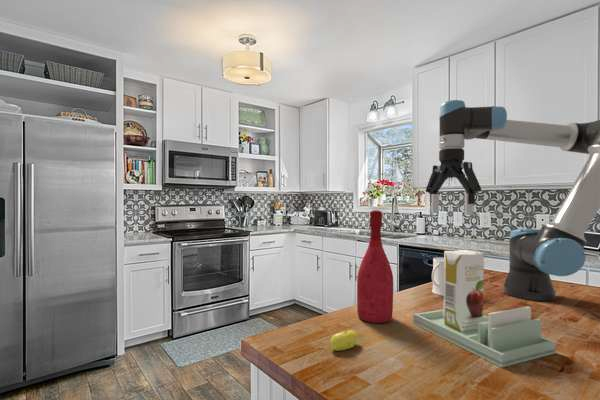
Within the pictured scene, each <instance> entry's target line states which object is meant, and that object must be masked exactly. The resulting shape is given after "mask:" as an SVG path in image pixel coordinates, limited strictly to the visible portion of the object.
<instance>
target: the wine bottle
mask: <svg viewBox="0 0 600 400" xmlns="http://www.w3.org/2000/svg"><path fill="white" fill-rule="evenodd" d="M369 216H370V217H369V227H370V237H369V243H368V246H367V248H366V251H365V254H364V256H363V257H362V260H361V262H360V265H359V267H358V272H357V276H356V279H357V280H356V310H357V316H358V317H359V318H360V319H361V320H362V321H365V322H367V323H372V324H384V323H388V322H389V321H391V319H393V312H394V311H393V309H394V275H393V271H392V267H391V265H390V264H391V263H390V261H389V259H388V257H387V254H386V251H385V249H384V247H383V243H382V236H381V235H382V234H381V233H382V232H381V229H382V226H383V212H382V211H381V210H374V209H373V210H371V211H370V212H369Z"/></svg>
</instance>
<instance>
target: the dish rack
mask: <svg viewBox="0 0 600 400" xmlns="http://www.w3.org/2000/svg"><path fill="white" fill-rule="evenodd" d="M531 314H532V307H531V306H525V307H524V306H523V307H517V308H512V309H511V308H510V309H507V310H500V311H494V312H489V313H487V315H484V314H483V322H482V323H478V329H477V330H471V331H467V332H461V331H459V330H457V329H454V328H452V327H450V326H448V325H445V324H444V322H443V309H437V310H430V311H424V312H417V313H413V324H414V325H416V326H418V327H420V328H422V329H424V330H426V331H428V332H430V333H432V334H434V335H435V336H438V337H440V338H442V339H444V340H445V341H448V342H450V343H452V344H454V345H456V346H458V347H460V348H461V349H464V350H466V351H468V352H470V353H472V354H474V355H476V356H478V357H480V358H482V359H484V360H485V361H488V362H489V363H492V364H494V365H495V366H498V367H500V368H505V367H509V366H512V365H517V364H520V363H524V362H527V361H532V360H536V359H539V358H543V357H547V356H550V355H551V356H552V355H554V354H556V353H557V347H556V346H557V342H556V341H554V340H552V339H549V338H547V337H544V336H542V319H540V318H536V319H532V315H531Z"/></svg>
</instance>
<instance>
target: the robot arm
mask: <svg viewBox="0 0 600 400" xmlns="http://www.w3.org/2000/svg"><path fill="white" fill-rule="evenodd" d="M439 107H440V108H439V117H438V119H439V137H438V139H439V144H438V145H439V146H438V147H439V149H440V150H439V151H438V160H439V162H440V165H437V164H436V165H433V166H432V170H431V171H432V173H431V174H430V177H429V180H428V183H427V185H426V188H425V193H428V194H429V197H430V198H429V199H430V200H429V201H430V202H429V203H430V205H431V207H430V208H431V209H430V213H431V214H439V213H440V194H439V191H440V189H441V187H442V186H443V185H444V183H445V182H446V180H448V179H453V178H455V179H457V181H458V182H459V183H460V185H461V186H462V187H463V189H464V190H465V192H466V193H464V215H465V216H471V215H472V216H473V215H474V205H475V204H476V202H475V201H476V193H478V192H481V191H482V187H481V185H480V182H479V180H478V178H477V176H476V174H475V171H474V169H473V163H472V162H471V161H464V160H465V149H464V148H465V140H466V141H468V140H473V139H476V140H477V139H478V140H479V139H480V140H489V141H499V142H506V143H507V142H508V143H517V144H525V145H526V144H527V145H535V146H544V147H555V148H560V150H561V151H564V152H571V153H579V154H586V155H589V157H588V158H587V161H586V162H585V164H584V166H583V167H582V169H581V171H580V172H579V174H578V176H577V177H576V179H575V181H574V182H573V185H572V186H571V188H570V190H569V191H568V193H567V194H566V196H565V198H564V200H563V202H562V203H561V205H560V207H559V208H558V210H557V212H556V213H555V215H554V217H553V219H552V221H551V222H548V223H545V224H542V226H541V227H540V228H539V229H533V228H532V229H531V228H530V229H529V228H527V229H526V228H525V229H523V228H522V229H521V228H520V229H513V230H511V231H510V234H509V238H508V240H509V271H508V274H507V276H506V278H505V281H504V284H503V293H505V294H506V295H508V296H512V297H513V298H514V297H515V298H518V299H524V300H531V301H538V302H548V301H549V302H550V301H554V300H556V290H555V287H554V285H553V282H552V278H551V276H555V277H568V276H571V275H574V274H575V273H577V272H579V271H580V270H581V269H582V268H583V266H584V265H585V262H586V255H587V254H585V252H586V250H585V249H584V247H585V246H586V244H587V239H586V238H585V233H586V232H587V230H588V228H589V226H590V225H591V223H592V221H593V220H594V218H595V216H596V215H597V213H598V211H599V210H600V119H598V120H594V121H590V122H582V123H577V122H570V123H568V124H566V125H565V124H557V123H556V124H555V123H546V122H545V123H544V122H534V121H526V120H525V121H523V120H515V119H513V120H512V119H508V112H507V110H506V108H505V107H504V106H494V105H492V106H479V107H478V106H475V107H472V106H471V107H467V106H466V103H465V101H464V100H458V99H452V100H447V101H444V102H443V103H442V104H441V105H440V106H439ZM463 161H464V162H463ZM550 275H551V276H550Z"/></svg>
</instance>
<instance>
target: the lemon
mask: <svg viewBox="0 0 600 400" xmlns="http://www.w3.org/2000/svg"><path fill="white" fill-rule="evenodd" d="M359 340H360V338H359V333H358V332H357V331H356V330H353V329H350V330H345V331H344V330H343V331H341V332H338V333H335V334H333V335H332V336H331V338H330V342H329V344H330V347H331V349H332V350H333V351H336V352H340V351H346V350H348V349H352V348H353V347H355V345H357V343H358V342H359Z"/></svg>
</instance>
